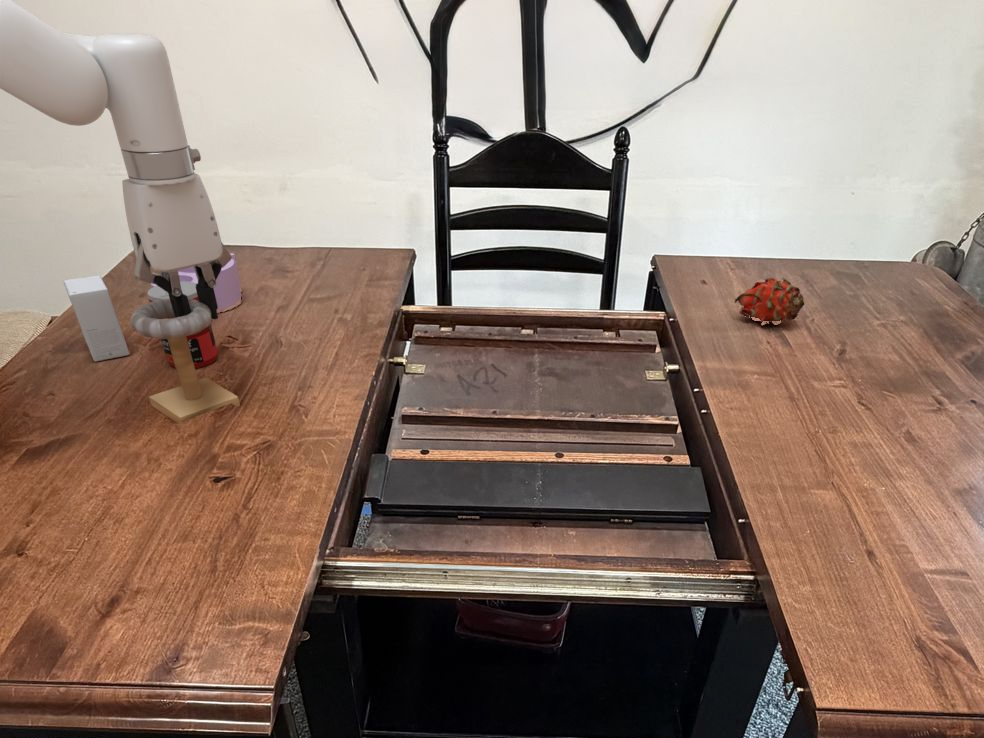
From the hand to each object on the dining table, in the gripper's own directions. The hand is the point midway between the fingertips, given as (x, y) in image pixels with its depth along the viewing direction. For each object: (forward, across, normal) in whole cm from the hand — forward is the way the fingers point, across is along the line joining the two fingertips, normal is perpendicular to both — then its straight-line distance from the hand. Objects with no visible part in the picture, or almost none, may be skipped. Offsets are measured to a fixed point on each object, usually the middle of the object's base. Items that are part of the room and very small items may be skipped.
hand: (198, 318), depth 97 cm
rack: (+12, +4, 0) cm, 12 cm away
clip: (+12, -17, -35) cm, 41 cm away
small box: (+12, +4, -28) cm, 31 cm away
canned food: (+12, -4, -15) cm, 20 cm away
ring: (-1, +4, 0) cm, 4 cm away
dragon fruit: (+11, -86, +43) cm, 97 cm away
